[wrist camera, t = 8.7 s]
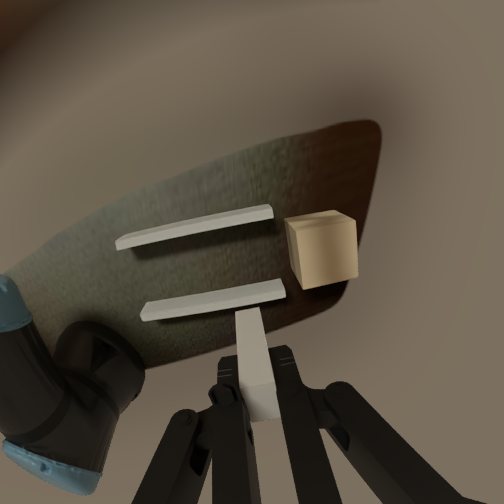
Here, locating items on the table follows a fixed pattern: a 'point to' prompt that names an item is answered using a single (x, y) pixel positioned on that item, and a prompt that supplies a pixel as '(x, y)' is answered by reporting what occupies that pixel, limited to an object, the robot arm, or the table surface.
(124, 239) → the channel
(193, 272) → the table surface
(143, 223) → the table surface
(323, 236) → the maple block
